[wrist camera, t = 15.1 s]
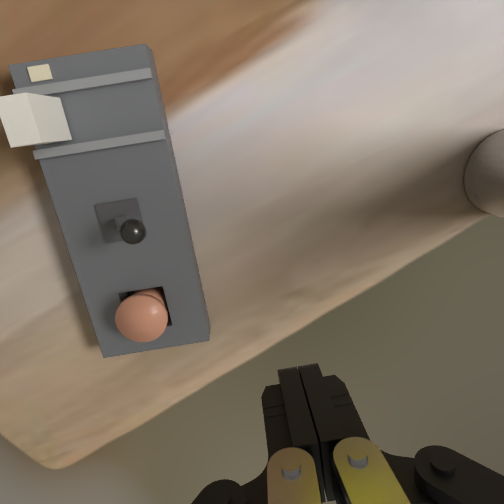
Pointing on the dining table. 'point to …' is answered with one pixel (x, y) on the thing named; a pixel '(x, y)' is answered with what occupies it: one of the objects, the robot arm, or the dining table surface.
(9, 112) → the cream rectangular prism
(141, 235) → the toggle
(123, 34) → the dining table surface
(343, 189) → the dining table surface
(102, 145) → the panel
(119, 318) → the button
